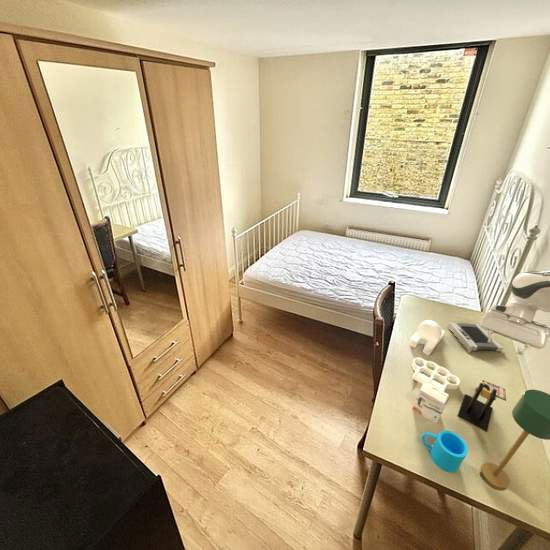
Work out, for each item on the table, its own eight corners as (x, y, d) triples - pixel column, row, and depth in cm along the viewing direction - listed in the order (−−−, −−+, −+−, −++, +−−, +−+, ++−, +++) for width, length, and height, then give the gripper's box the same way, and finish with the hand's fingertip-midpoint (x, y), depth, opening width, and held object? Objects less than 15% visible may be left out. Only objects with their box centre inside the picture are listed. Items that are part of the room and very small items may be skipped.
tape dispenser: (408, 344, 137) (414, 326, 132) (423, 327, 148) (429, 310, 143) (429, 355, 131) (436, 337, 126) (443, 336, 142) (450, 319, 137)
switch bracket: (463, 396, 112) (475, 373, 106) (491, 410, 107) (505, 386, 101) (456, 417, 104) (468, 393, 98) (485, 433, 99) (500, 409, 93)
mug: (461, 456, 92) (470, 441, 88) (456, 478, 87) (465, 463, 83) (421, 433, 99) (428, 418, 95) (414, 452, 93) (421, 436, 89)
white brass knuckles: (403, 375, 120) (417, 357, 130) (449, 402, 110) (461, 380, 119) (405, 370, 119) (419, 352, 128) (452, 397, 108) (464, 375, 117)
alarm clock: (449, 322, 147) (481, 320, 147) (447, 329, 149) (478, 327, 149) (470, 346, 132) (506, 343, 132) (468, 354, 134) (503, 351, 134)
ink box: (410, 411, 106) (419, 388, 100) (415, 402, 110) (424, 380, 104) (435, 426, 101) (446, 404, 95) (440, 416, 105) (450, 394, 99)
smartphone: (504, 376, 121) (505, 374, 121) (504, 402, 110) (506, 400, 110) (482, 368, 125) (483, 366, 125) (479, 391, 114) (481, 389, 114)
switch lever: (477, 389, 111) (480, 381, 111) (487, 394, 109) (491, 385, 109) (477, 396, 100) (481, 387, 100) (489, 401, 98) (493, 392, 98)
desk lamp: (508, 470, 89) (563, 397, 73) (514, 500, 82) (577, 428, 66) (474, 456, 93) (519, 384, 76) (477, 484, 85) (528, 412, 69)
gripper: (550, 329, 109) (536, 363, 107) (486, 307, 120) (473, 337, 118) (555, 325, 103) (541, 361, 102) (488, 303, 115) (474, 334, 113)
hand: (504, 348), depth 110 cm, fingers open, 8 cm apart
